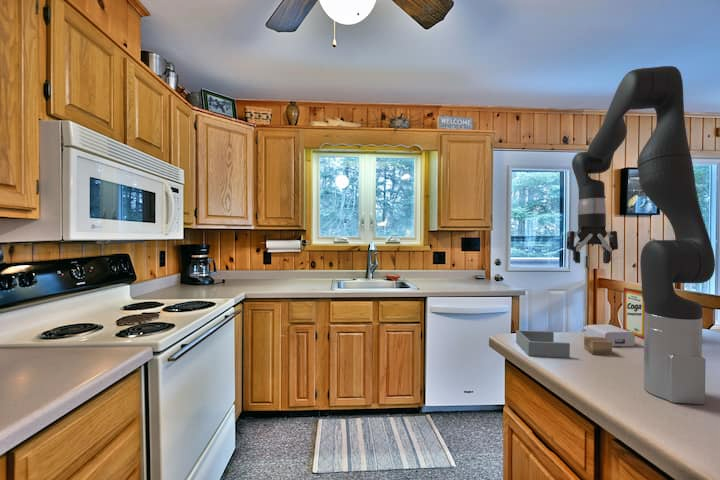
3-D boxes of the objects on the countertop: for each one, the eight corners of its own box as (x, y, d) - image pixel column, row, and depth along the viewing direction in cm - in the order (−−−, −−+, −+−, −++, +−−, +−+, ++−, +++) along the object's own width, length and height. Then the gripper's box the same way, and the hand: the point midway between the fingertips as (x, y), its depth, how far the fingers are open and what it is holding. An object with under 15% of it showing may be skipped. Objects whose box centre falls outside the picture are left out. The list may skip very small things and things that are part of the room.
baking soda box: (623, 331, 121) (623, 286, 120) (641, 331, 121) (642, 286, 120) (645, 340, 111) (646, 290, 111) (665, 339, 111) (666, 290, 111)
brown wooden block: (611, 356, 97) (611, 342, 97) (592, 355, 98) (592, 341, 98) (602, 350, 102) (602, 337, 102) (584, 349, 103) (584, 336, 103)
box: (569, 357, 95) (569, 343, 95) (528, 356, 97) (528, 342, 97) (552, 344, 107) (552, 331, 107) (516, 342, 109) (516, 330, 109)
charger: (599, 333, 120) (634, 347, 105) (573, 333, 120) (605, 347, 105) (599, 319, 120) (635, 332, 105) (573, 320, 119) (605, 332, 104)
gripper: (573, 212, 108) (573, 263, 108) (622, 211, 106) (623, 264, 106) (562, 214, 116) (563, 262, 115) (608, 213, 113) (609, 262, 113)
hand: (591, 263), depth 111 cm, fingers open, 8 cm apart
